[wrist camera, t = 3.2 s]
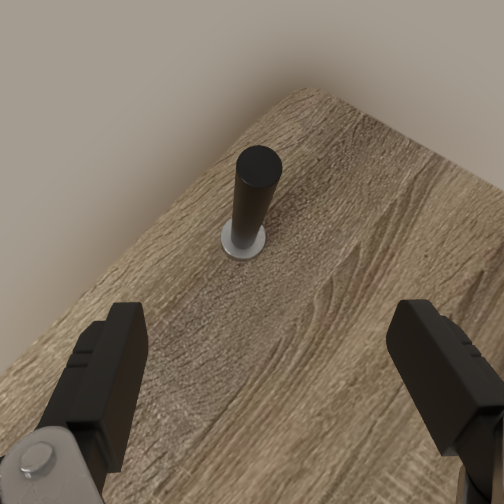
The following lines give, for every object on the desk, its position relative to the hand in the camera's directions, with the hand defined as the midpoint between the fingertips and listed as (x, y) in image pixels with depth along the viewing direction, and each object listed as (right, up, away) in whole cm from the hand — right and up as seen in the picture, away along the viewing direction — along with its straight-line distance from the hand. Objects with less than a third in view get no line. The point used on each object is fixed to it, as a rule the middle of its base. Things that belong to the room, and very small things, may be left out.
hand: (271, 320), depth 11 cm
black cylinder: (-1, +3, +17) cm, 18 cm away
